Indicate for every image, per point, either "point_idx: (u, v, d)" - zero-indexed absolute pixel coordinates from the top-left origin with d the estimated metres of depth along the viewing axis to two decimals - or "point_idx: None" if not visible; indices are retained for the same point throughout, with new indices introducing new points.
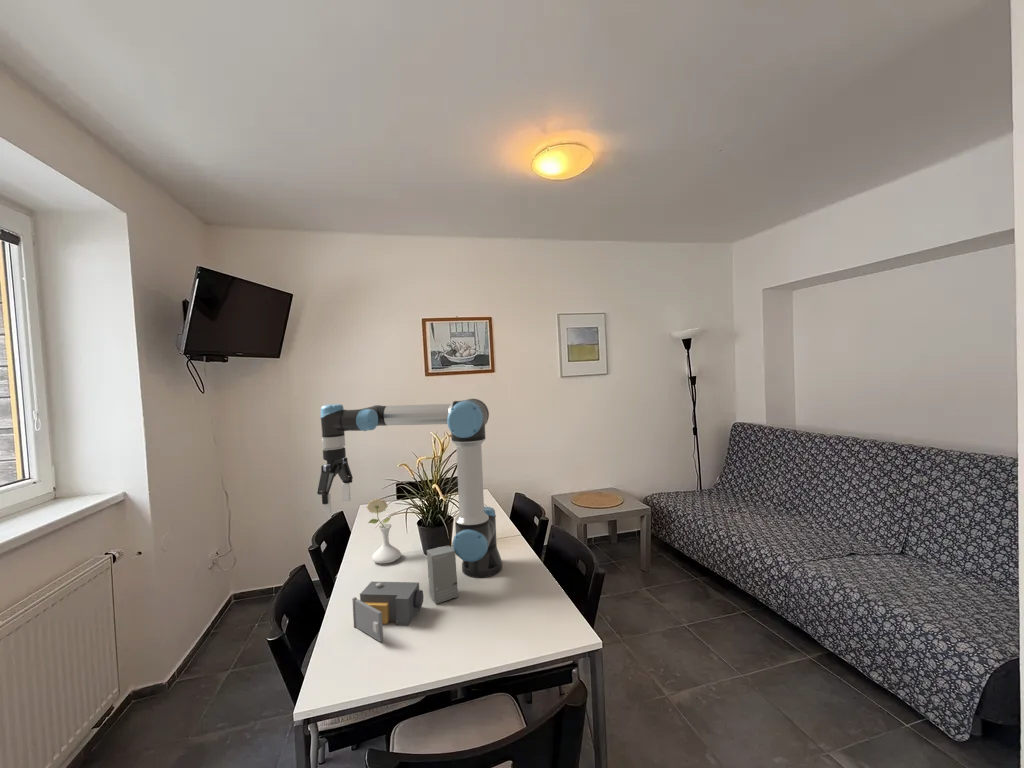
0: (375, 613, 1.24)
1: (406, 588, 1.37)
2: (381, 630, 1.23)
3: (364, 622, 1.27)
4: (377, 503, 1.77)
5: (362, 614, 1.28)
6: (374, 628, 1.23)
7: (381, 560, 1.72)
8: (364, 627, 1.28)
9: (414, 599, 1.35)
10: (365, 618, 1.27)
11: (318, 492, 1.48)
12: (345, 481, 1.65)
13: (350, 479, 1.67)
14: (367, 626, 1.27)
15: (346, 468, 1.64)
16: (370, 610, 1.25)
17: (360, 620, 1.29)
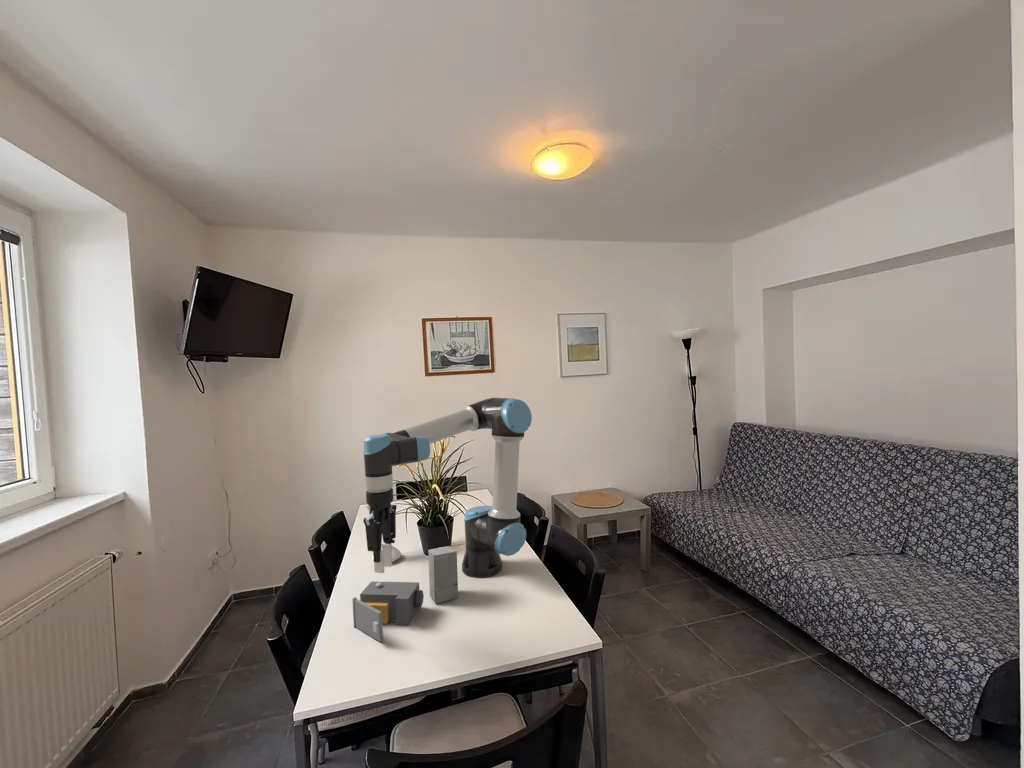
0: (375, 613, 1.24)
1: (406, 588, 1.37)
2: (381, 630, 1.23)
3: (364, 622, 1.27)
4: None
5: (362, 614, 1.28)
6: (374, 628, 1.23)
7: None
8: (364, 627, 1.28)
9: (414, 599, 1.35)
10: (365, 618, 1.27)
11: (368, 548, 1.23)
12: (386, 541, 1.30)
13: (392, 538, 1.31)
14: (367, 626, 1.27)
15: (392, 519, 1.31)
16: (370, 610, 1.25)
17: (360, 620, 1.29)
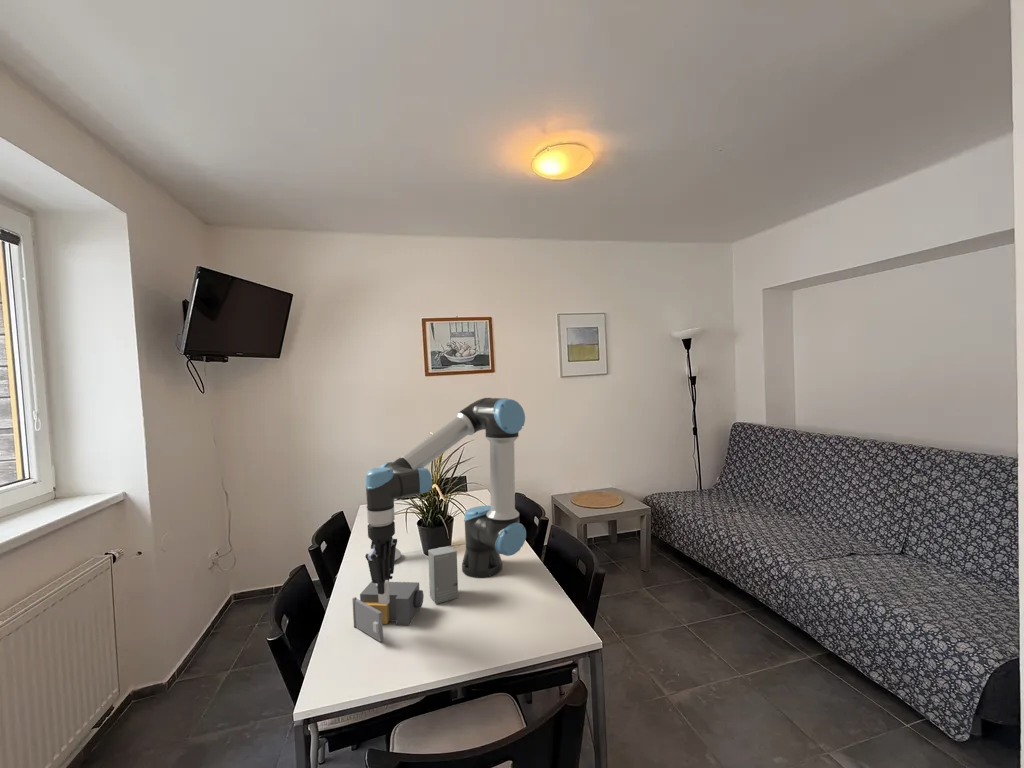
0: (375, 613, 1.24)
1: (406, 588, 1.37)
2: (381, 630, 1.23)
3: (364, 622, 1.27)
4: None
5: (362, 614, 1.28)
6: (374, 628, 1.23)
7: None
8: (364, 627, 1.28)
9: (414, 599, 1.35)
10: (365, 618, 1.27)
11: (373, 581, 1.24)
12: None
13: (390, 573, 1.30)
14: (367, 626, 1.27)
15: (391, 553, 1.31)
16: (370, 610, 1.25)
17: (360, 620, 1.29)
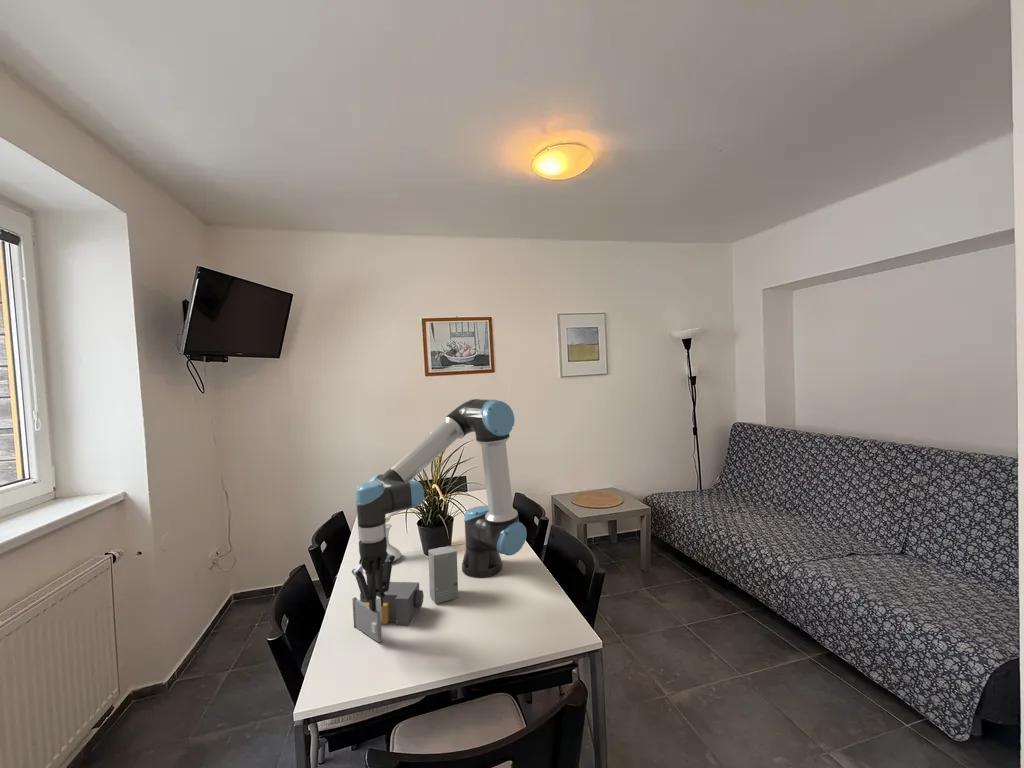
0: (374, 614, 1.23)
1: (406, 588, 1.37)
2: (380, 631, 1.23)
3: (363, 622, 1.27)
4: None
5: (361, 614, 1.28)
6: (373, 629, 1.23)
7: None
8: (363, 627, 1.27)
9: (414, 599, 1.35)
10: (364, 618, 1.27)
11: (363, 596, 1.23)
12: (377, 593, 1.26)
13: (385, 590, 1.27)
14: (366, 627, 1.27)
15: (387, 570, 1.27)
16: (369, 610, 1.25)
17: (360, 620, 1.29)
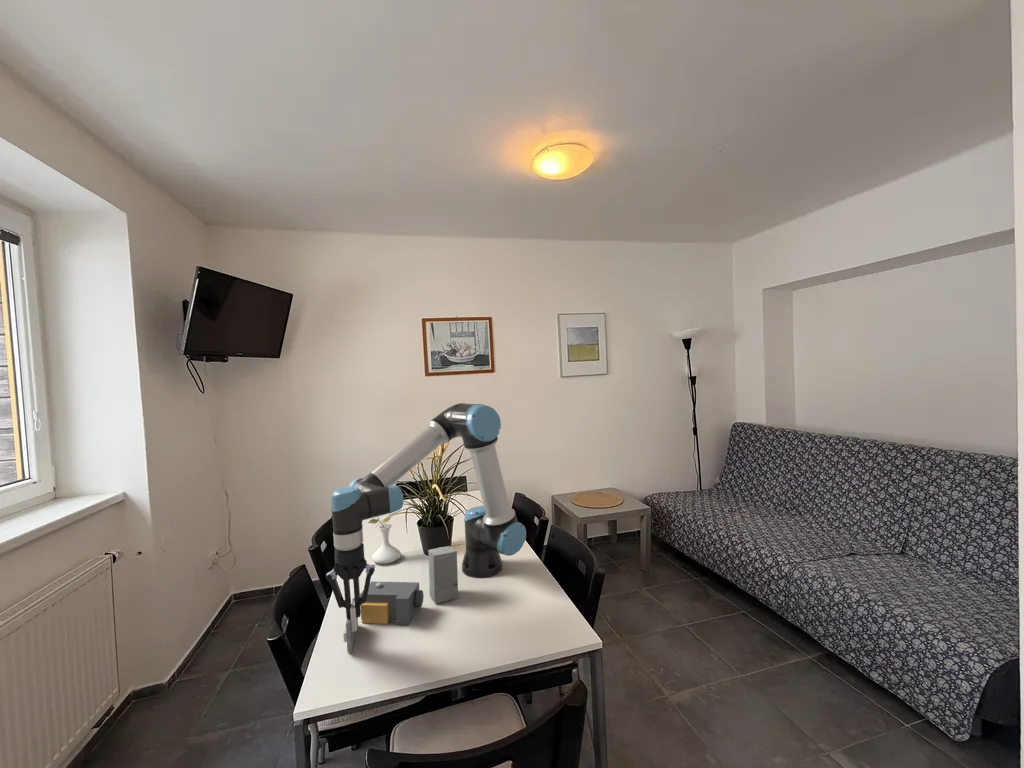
0: None
1: (406, 588, 1.37)
2: (349, 641, 1.19)
3: None
4: None
5: None
6: (344, 636, 1.20)
7: (381, 560, 1.72)
8: None
9: (414, 599, 1.35)
10: None
11: None
12: (355, 602, 1.22)
13: None
14: None
15: (365, 581, 1.21)
16: None
17: None
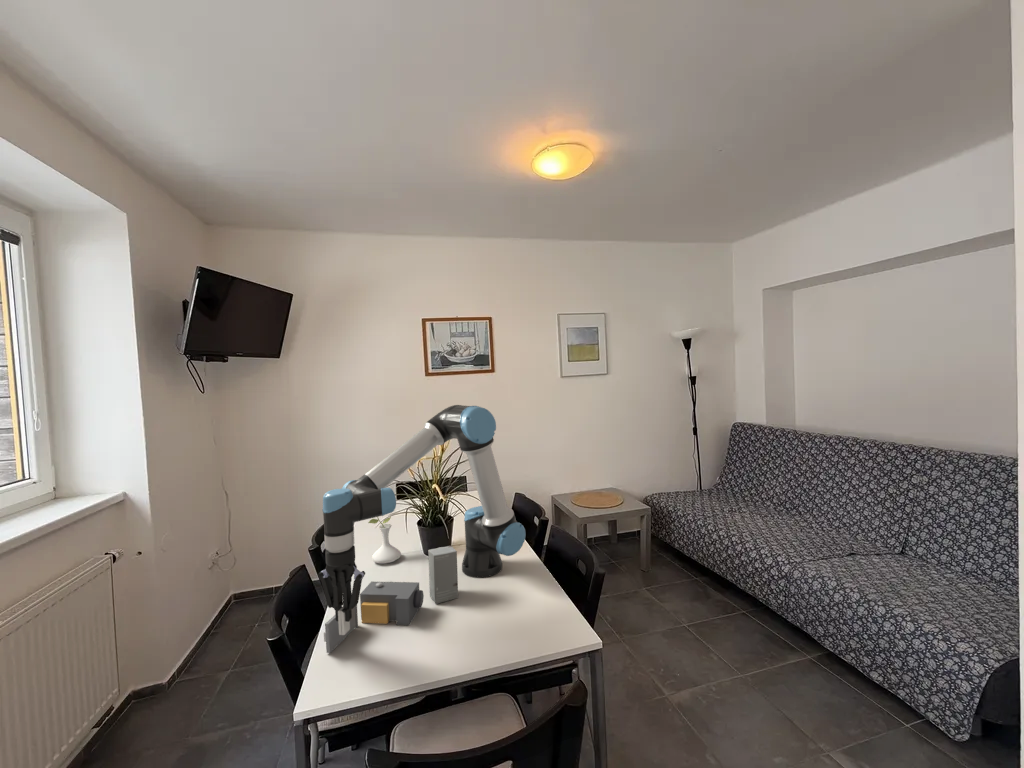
0: None
1: (406, 588, 1.37)
2: (328, 642, 1.19)
3: None
4: None
5: None
6: None
7: (381, 560, 1.72)
8: None
9: (414, 599, 1.35)
10: None
11: None
12: None
13: None
14: None
15: None
16: None
17: None
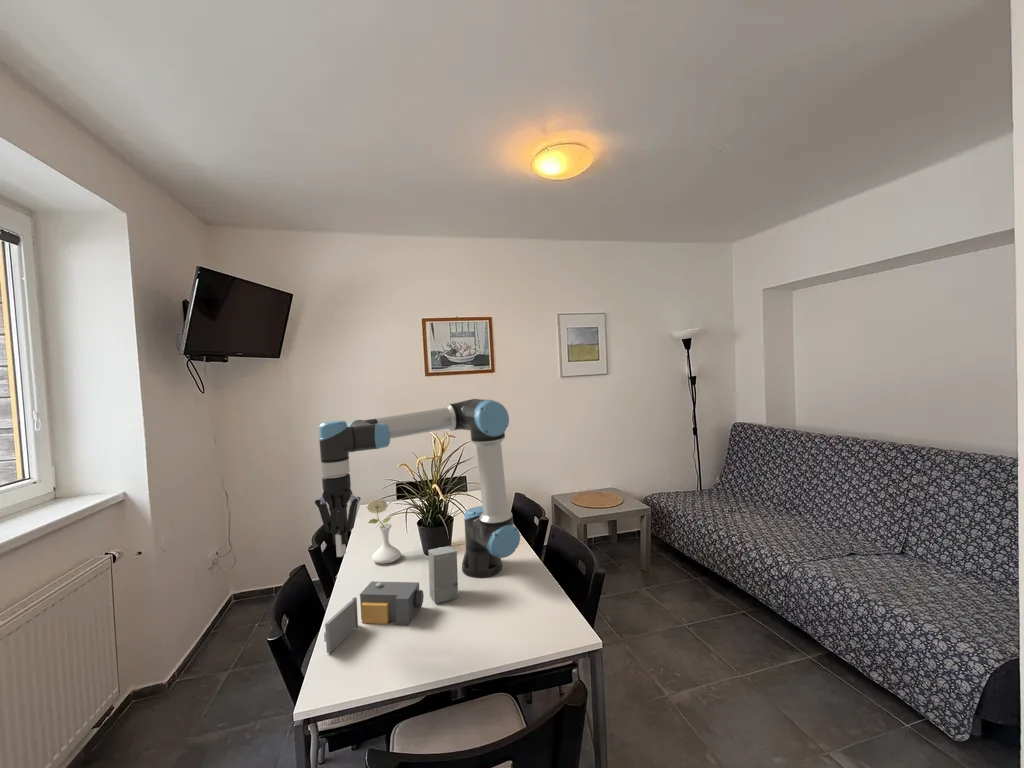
0: None
1: (406, 588, 1.37)
2: (328, 642, 1.19)
3: None
4: (377, 503, 1.77)
5: None
6: None
7: (381, 560, 1.72)
8: None
9: (414, 599, 1.35)
10: None
11: None
12: None
13: None
14: None
15: None
16: None
17: None
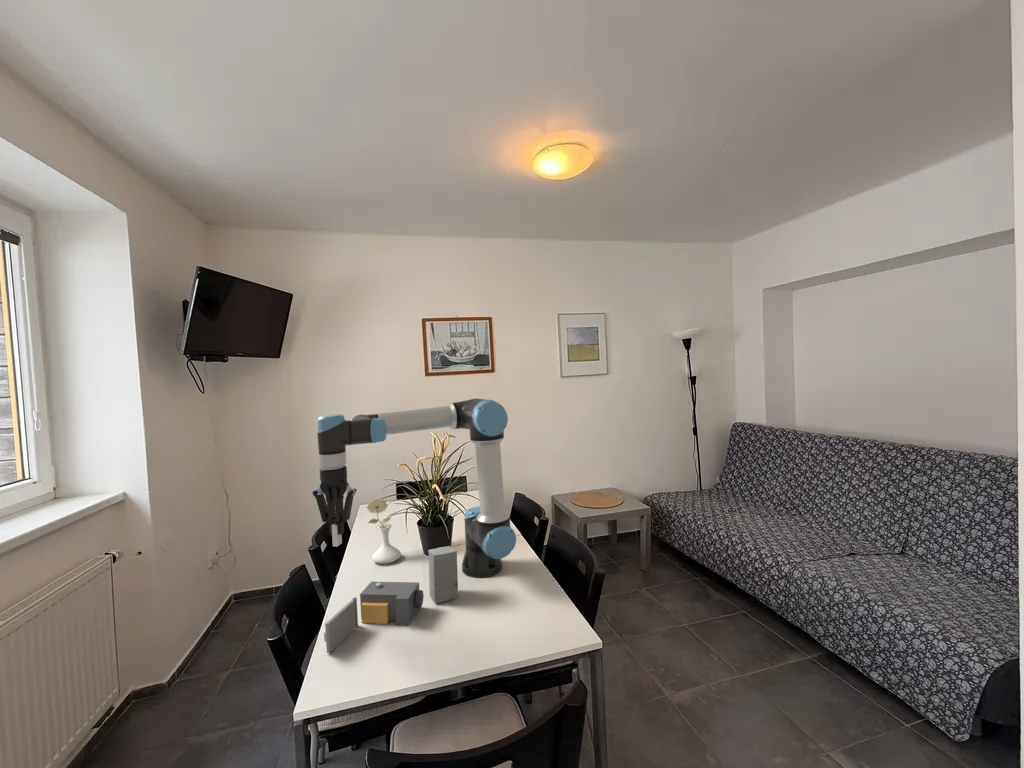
0: None
1: (406, 588, 1.37)
2: (328, 642, 1.19)
3: None
4: (377, 503, 1.77)
5: None
6: None
7: (381, 560, 1.72)
8: None
9: (414, 599, 1.35)
10: None
11: None
12: None
13: None
14: None
15: None
16: None
17: None
